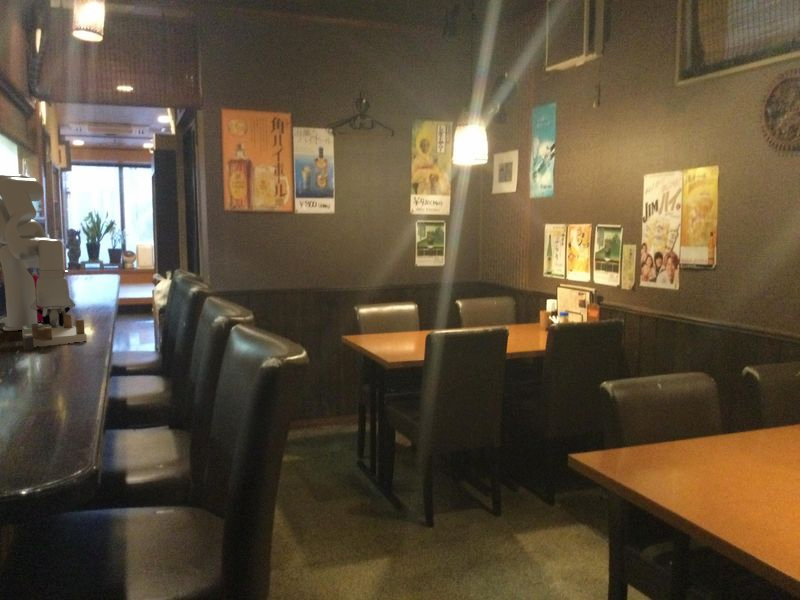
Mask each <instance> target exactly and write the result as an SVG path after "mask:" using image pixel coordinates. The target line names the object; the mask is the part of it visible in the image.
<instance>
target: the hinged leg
mask: <svg viewBox="0 0 800 600" xmlns="http://www.w3.org/2000/svg"><path fill="white" fill-rule="evenodd" d="M32 330H33V338H36V339H39V340H42V341H48V340H52V331H51V327H32Z"/></svg>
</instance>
